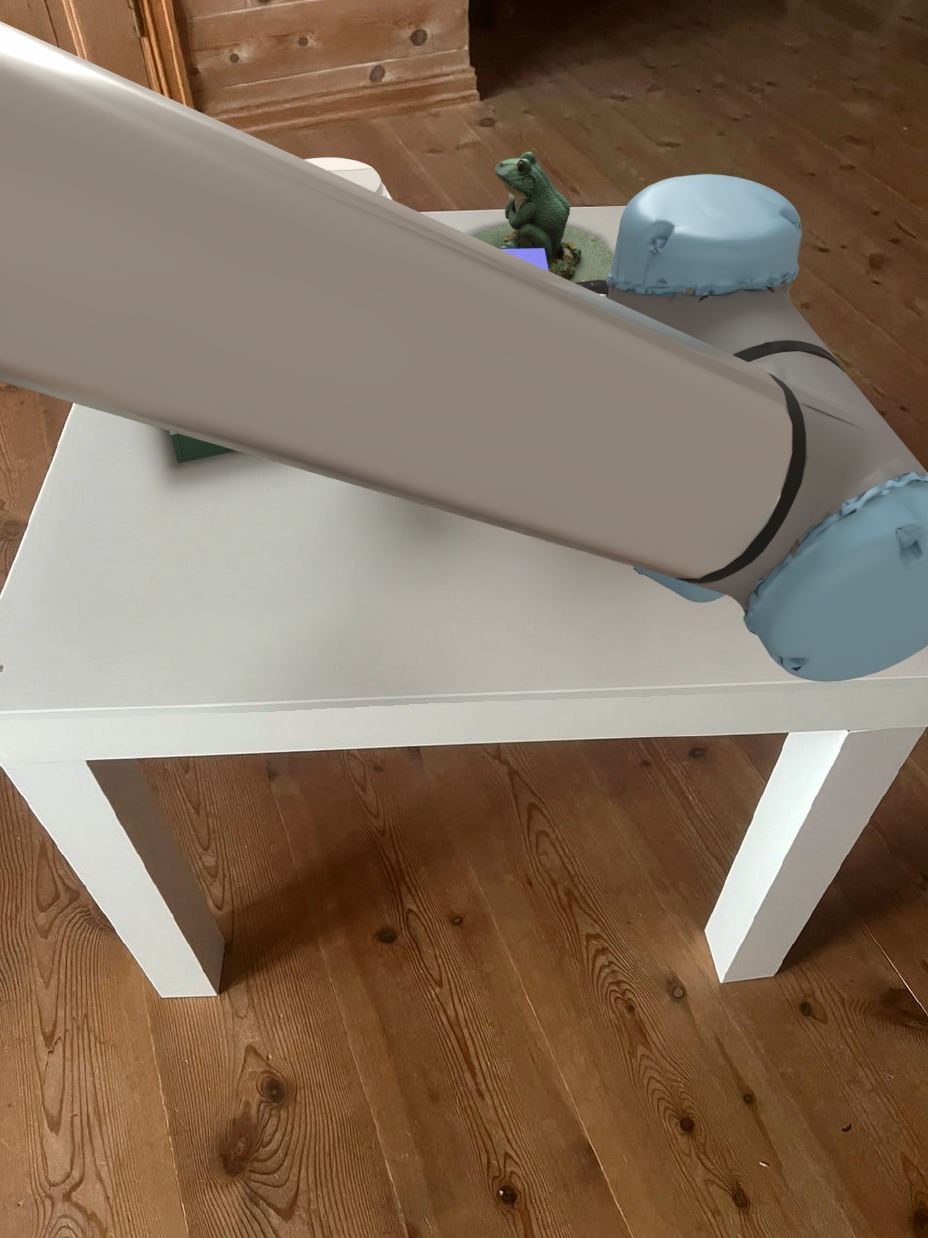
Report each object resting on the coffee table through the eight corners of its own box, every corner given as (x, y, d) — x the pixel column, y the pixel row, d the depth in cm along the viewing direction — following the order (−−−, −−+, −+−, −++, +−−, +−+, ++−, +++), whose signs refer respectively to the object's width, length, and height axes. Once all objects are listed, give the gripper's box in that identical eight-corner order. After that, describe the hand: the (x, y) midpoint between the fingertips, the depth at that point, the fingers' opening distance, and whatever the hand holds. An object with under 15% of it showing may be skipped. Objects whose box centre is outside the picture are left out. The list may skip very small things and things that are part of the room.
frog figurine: (481, 214, 119) (482, 111, 111) (631, 236, 115) (643, 131, 107) (429, 286, 108) (425, 177, 99) (592, 314, 104) (603, 203, 95)
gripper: (398, 540, 55) (175, 363, 67) (632, 397, 64) (400, 262, 76) (390, 429, 50) (148, 257, 61) (648, 290, 59) (395, 162, 70)
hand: (288, 260), depth 68 cm, fingers closed on coffee cup, 6 cm apart
